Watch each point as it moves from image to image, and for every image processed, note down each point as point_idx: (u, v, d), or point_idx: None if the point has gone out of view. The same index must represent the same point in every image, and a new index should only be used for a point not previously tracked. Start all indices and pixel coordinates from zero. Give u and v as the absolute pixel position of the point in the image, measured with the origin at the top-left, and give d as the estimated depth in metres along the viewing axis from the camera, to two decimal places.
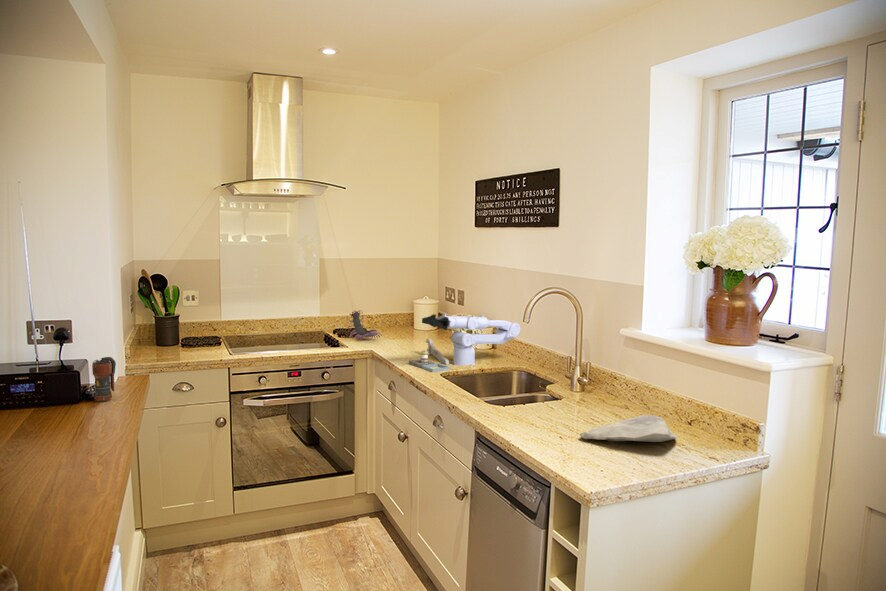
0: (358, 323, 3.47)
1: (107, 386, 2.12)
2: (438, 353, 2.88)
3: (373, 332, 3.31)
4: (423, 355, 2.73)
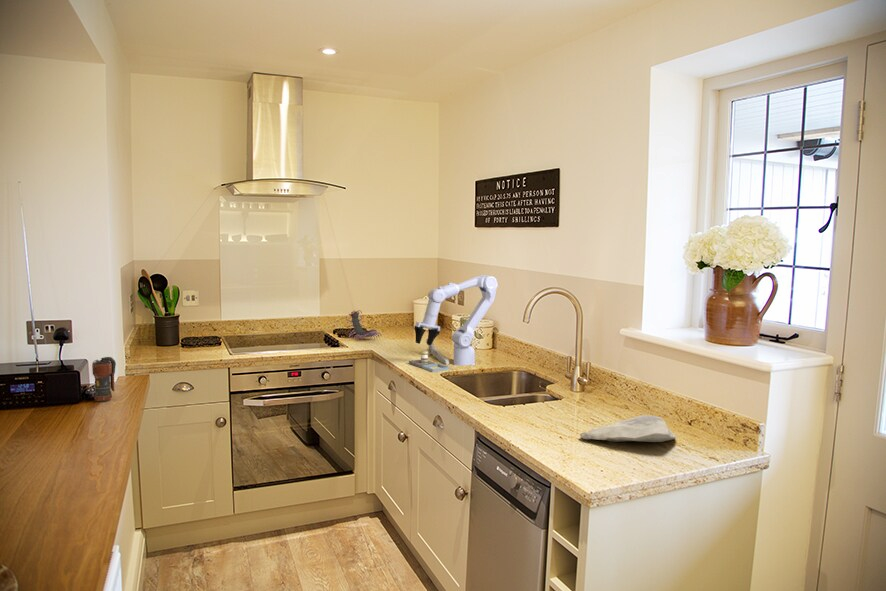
0: (357, 323, 3.47)
1: (107, 386, 2.12)
2: (438, 353, 2.88)
3: (373, 332, 3.31)
4: (423, 355, 2.73)
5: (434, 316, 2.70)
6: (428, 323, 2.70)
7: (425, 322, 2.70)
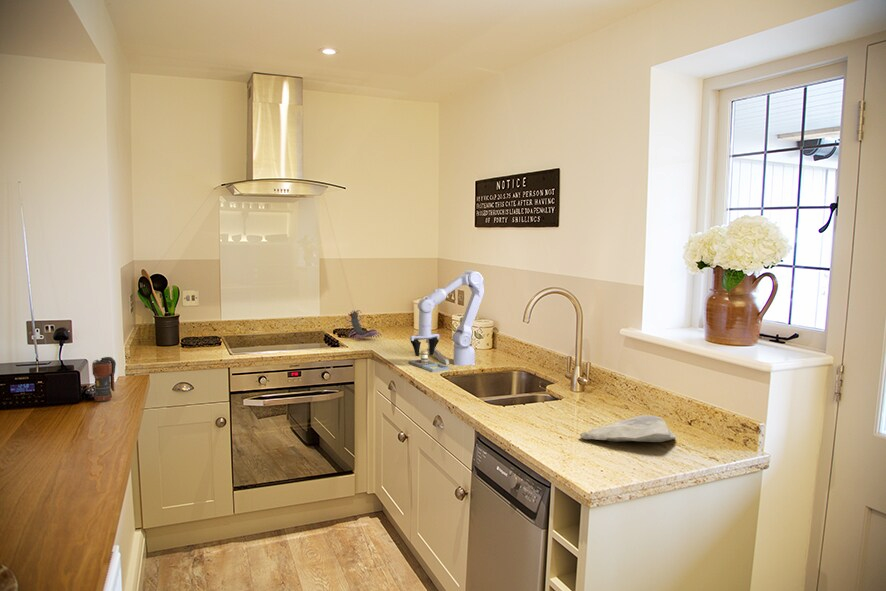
0: (357, 323, 3.47)
1: (107, 386, 2.12)
2: (438, 353, 2.88)
3: (373, 332, 3.31)
4: (423, 355, 2.73)
5: (427, 326, 2.70)
6: (422, 334, 2.71)
7: (420, 334, 2.71)
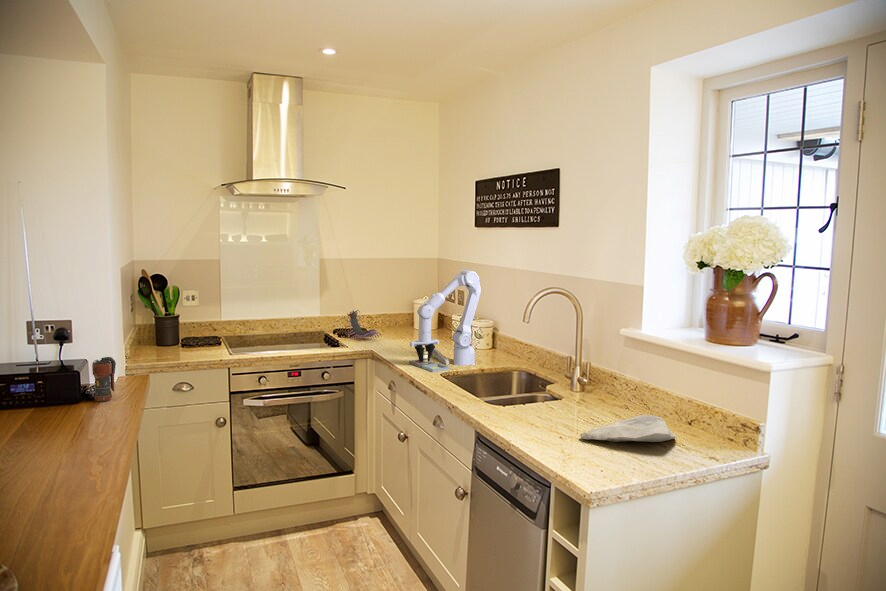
0: (356, 323, 3.47)
1: (107, 386, 2.12)
2: (438, 353, 2.88)
3: (373, 332, 3.32)
4: (423, 355, 2.73)
5: (427, 332, 2.71)
6: (422, 340, 2.71)
7: (420, 340, 2.72)
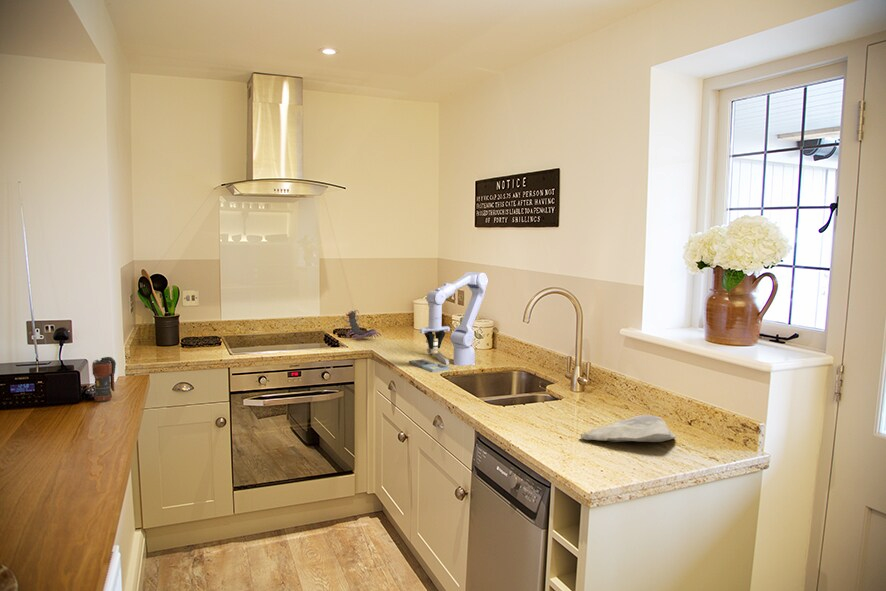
0: (355, 323, 3.46)
1: (107, 386, 2.12)
2: (438, 353, 2.87)
3: (372, 332, 3.32)
4: (433, 342, 2.67)
5: (437, 319, 2.65)
6: (432, 327, 2.65)
7: (430, 327, 2.66)
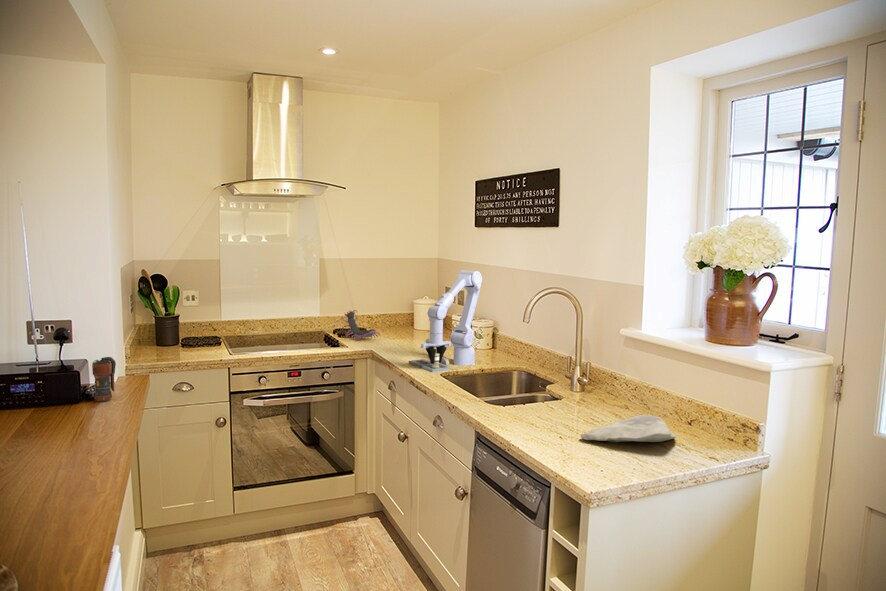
0: (353, 323, 3.46)
1: (107, 386, 2.12)
2: None
3: (372, 332, 3.32)
4: None
5: (438, 334, 2.64)
6: (434, 342, 2.65)
7: (431, 342, 2.66)
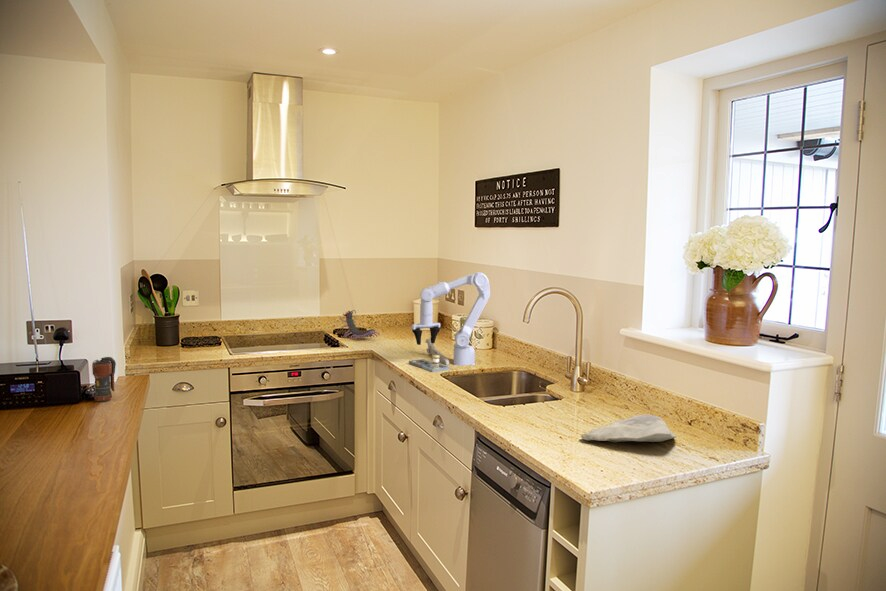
0: (352, 323, 3.46)
1: (107, 386, 2.12)
2: (438, 353, 2.87)
3: (372, 332, 3.32)
4: (434, 359, 2.67)
5: (428, 315, 2.74)
6: (424, 323, 2.75)
7: (421, 323, 2.76)
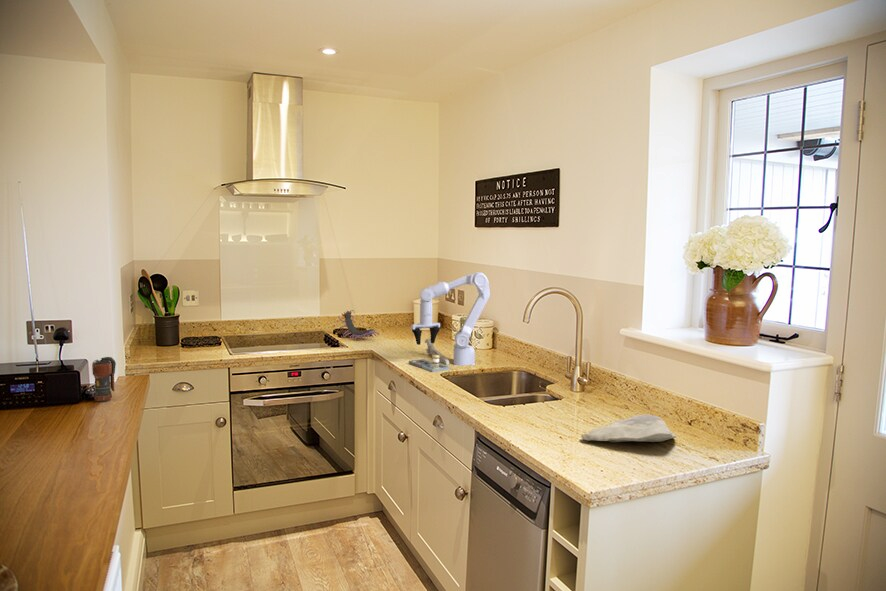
0: (351, 323, 3.46)
1: (107, 386, 2.12)
2: (438, 353, 2.87)
3: (372, 331, 3.33)
4: (434, 359, 2.67)
5: (428, 315, 2.75)
6: (423, 323, 2.75)
7: (421, 323, 2.76)
